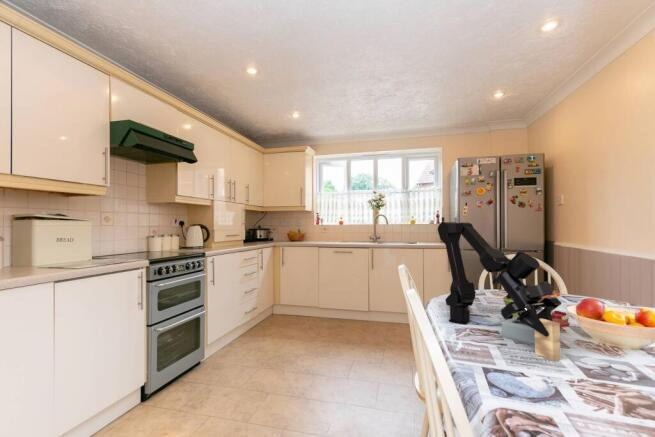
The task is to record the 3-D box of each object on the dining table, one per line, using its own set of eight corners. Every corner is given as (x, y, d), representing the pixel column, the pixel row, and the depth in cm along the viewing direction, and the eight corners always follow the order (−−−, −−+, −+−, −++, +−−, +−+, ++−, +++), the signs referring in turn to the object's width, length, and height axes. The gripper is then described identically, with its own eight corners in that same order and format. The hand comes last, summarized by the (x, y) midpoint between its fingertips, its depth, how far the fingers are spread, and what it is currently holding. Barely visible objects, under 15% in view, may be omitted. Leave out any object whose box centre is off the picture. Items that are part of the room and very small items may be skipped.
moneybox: (501, 336, 101) (501, 321, 101) (512, 330, 107) (512, 316, 107) (540, 346, 92) (540, 330, 93) (550, 339, 98) (549, 324, 98)
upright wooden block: (535, 354, 87) (534, 319, 88) (542, 352, 88) (541, 318, 89) (553, 361, 83) (552, 324, 83) (560, 359, 84) (559, 323, 84)
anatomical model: (571, 328, 107) (551, 286, 111) (546, 331, 112) (528, 291, 117) (577, 322, 113) (558, 283, 118) (554, 325, 119) (536, 288, 124)
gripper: (508, 274, 87) (548, 324, 76) (554, 270, 93) (597, 316, 82) (486, 295, 94) (520, 344, 83) (530, 291, 100) (566, 336, 89)
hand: (552, 335), depth 84 cm, fingers closed on upright wooden block, 3 cm apart
